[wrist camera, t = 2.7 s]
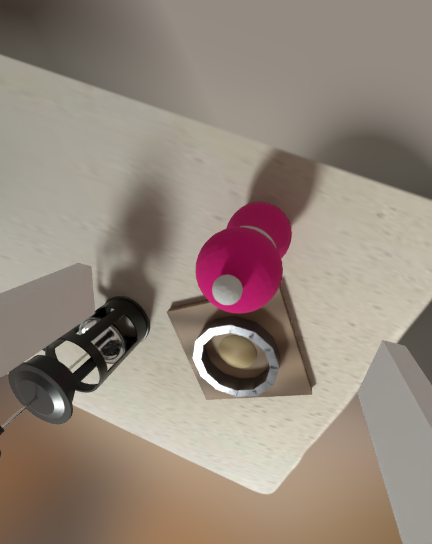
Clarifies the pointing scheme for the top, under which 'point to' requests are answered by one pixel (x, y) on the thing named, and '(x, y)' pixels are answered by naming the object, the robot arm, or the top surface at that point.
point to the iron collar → (228, 382)
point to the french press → (59, 379)
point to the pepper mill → (245, 259)
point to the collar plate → (244, 347)
